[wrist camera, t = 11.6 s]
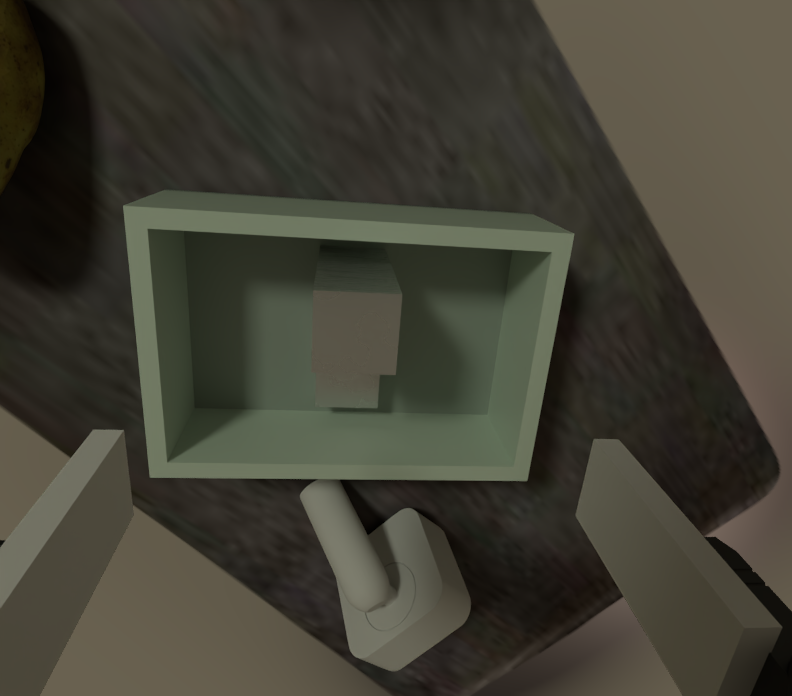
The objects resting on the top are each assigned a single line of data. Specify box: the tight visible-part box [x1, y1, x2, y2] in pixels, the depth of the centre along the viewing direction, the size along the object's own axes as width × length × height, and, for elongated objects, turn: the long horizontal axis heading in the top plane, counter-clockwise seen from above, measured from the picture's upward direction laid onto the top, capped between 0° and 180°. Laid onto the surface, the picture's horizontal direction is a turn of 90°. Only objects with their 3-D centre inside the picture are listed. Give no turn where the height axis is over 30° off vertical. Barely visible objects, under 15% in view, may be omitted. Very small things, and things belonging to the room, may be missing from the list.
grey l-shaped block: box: [311, 245, 402, 408], centre depth 32 cm, size 10×4×10 cm, turn 176°
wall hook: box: [300, 479, 471, 671], centre depth 39 cm, size 8×10×10 cm
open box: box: [123, 189, 574, 481], centre depth 33 cm, size 15×22×7 cm
